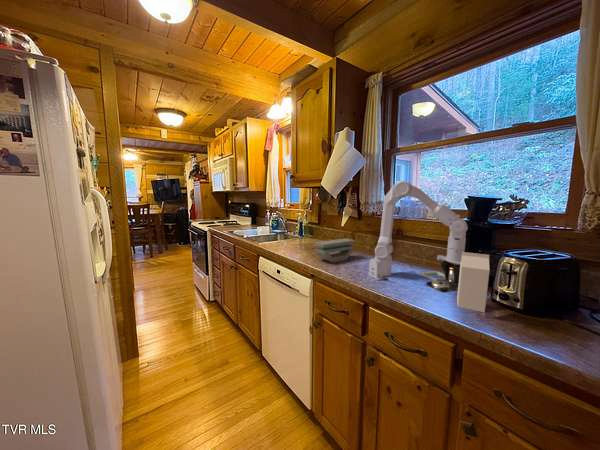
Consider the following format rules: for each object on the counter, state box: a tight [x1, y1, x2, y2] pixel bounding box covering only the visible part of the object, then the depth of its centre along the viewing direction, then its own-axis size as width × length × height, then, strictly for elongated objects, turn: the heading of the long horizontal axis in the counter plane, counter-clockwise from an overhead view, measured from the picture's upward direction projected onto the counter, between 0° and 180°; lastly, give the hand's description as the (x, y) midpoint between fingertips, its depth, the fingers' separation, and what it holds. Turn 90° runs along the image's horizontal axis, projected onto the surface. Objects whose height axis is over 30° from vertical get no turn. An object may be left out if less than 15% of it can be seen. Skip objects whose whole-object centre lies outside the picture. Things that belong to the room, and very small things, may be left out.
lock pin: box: [447, 266, 457, 287], centre depth 96 cm, size 4×4×7 cm
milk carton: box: [456, 251, 490, 317], centre depth 78 cm, size 7×7×19 cm
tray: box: [420, 270, 447, 282], centre depth 107 cm, size 9×8×2 cm
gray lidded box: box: [313, 238, 356, 263], centre depth 139 cm, size 25×8×11 cm, turn 125°
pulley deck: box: [423, 280, 458, 294], centre depth 95 cm, size 13×9×4 cm
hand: (452, 281), depth 96 cm, fingers closed on lock pin, 3 cm apart
